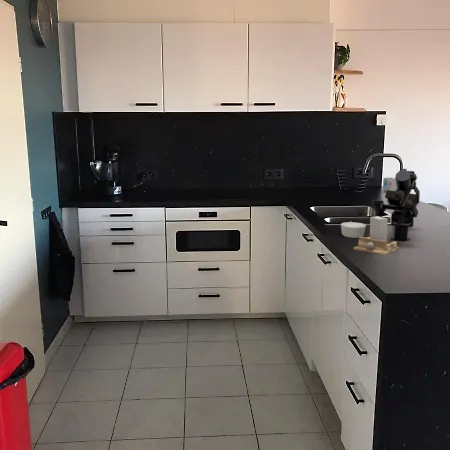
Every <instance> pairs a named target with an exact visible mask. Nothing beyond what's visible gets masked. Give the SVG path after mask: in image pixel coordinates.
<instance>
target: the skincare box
mask: <svg viewBox="0 0 450 450" xmlns="http://www.w3.org/2000/svg"><path fill="white" fill-rule="evenodd" d="M388 219H389V218H387V217H383V216H382V217H379V216H371V217H369V221H370V222H369V237H370V238H372V239H377V240H383V241H387V242H388V224H389V221H388Z"/></svg>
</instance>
